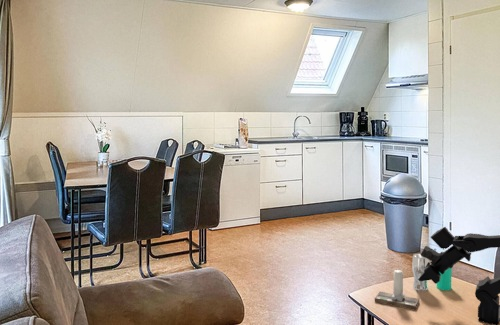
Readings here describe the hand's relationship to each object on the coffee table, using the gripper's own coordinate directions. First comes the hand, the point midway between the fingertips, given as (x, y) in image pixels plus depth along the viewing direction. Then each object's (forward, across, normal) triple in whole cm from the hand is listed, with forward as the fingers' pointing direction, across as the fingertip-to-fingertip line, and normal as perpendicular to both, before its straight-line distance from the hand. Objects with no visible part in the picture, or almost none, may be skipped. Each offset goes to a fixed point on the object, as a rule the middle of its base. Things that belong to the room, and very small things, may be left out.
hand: (419, 280), depth 170 cm
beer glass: (+10, -19, +6) cm, 22 cm away
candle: (+4, -25, +12) cm, 28 cm away
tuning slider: (+12, 0, +1) cm, 12 cm away
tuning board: (+14, 0, +2) cm, 14 cm away
